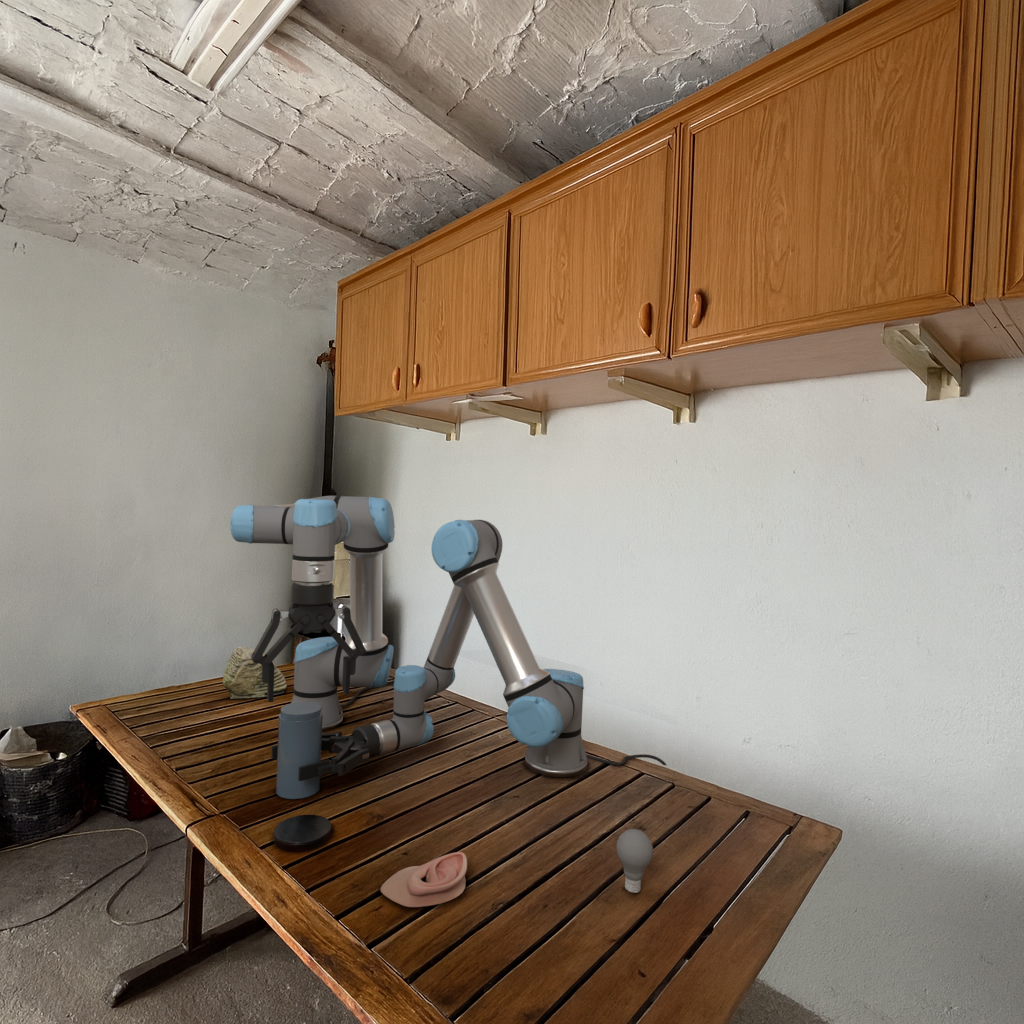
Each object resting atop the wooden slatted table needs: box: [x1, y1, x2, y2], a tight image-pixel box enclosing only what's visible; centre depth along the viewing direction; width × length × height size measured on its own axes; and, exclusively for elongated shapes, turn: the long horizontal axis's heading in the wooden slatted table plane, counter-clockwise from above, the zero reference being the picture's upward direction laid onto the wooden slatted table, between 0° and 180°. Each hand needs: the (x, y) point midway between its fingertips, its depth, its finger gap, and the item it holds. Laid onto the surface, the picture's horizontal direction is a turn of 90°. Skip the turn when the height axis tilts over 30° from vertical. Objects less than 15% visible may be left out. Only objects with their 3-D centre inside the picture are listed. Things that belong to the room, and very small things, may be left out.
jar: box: [275, 702, 323, 800], centre depth 137 cm, size 9×9×18 cm
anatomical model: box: [380, 851, 468, 908], centre depth 104 cm, size 13×4×12 cm
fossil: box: [222, 646, 288, 699], centre depth 198 cm, size 9×18×15 cm, turn 132°
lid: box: [273, 814, 332, 853], centre depth 118 cm, size 10×10×2 cm
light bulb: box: [615, 828, 654, 894], centre depth 106 cm, size 6×6×10 cm
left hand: (308, 696), depth 118 cm, fingers open, 13 cm apart
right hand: (285, 763), depth 134 cm, fingers open, 13 cm apart
